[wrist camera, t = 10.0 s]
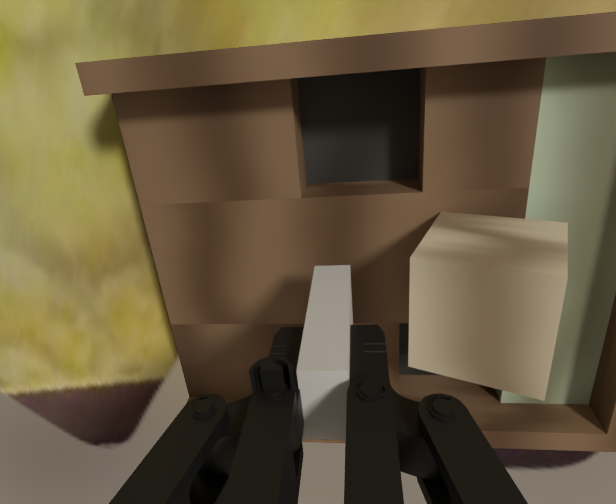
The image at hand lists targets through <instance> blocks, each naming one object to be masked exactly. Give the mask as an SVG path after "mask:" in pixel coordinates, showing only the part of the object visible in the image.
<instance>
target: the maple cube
mask: <svg viewBox="0 0 616 504" xmlns="http://www.w3.org/2000/svg"><path fill="white" fill-rule="evenodd" d="M567 280H568V223H566V222H555V221H544V220H532V219H521V218H509V217H498V216H486V215H475V214H463V213H452V212H441V213H440V214H439V216H438V217H437V218H436V220H435V221H434V223H433V224H432V226H431V227H430V229H429V230H428V232H427V233H426V235H425V236H424V238H423V239H422V241H421V242H420V244H419V245H418V246H417V248H416V249H415V251H414V252H413V254H412V255H411V257H410V284H409V346H408V367H412V368H416V369H420V370H424V371H428V372H432V373H436V374H440V375H444V376H448V377H452V378H456V379H460V380H464V381H468V382H471V383H475V384H479V385H483V386H487V387H491V388H495V389H499V390H503V391H507V392H511V393H515V394H519V395H523V396H527V397H531V398H535V399H539V400H543V401H545V397H546V391H547V386H548V381H549V375H550V370H551V365H552V360H553V354H554V349H555V344H556V338H557V333H558V328H559V322H560V317H561V312H562V307H563V301H564V296H565V291H566V285H567Z"/></svg>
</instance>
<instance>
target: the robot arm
mask: <svg viewBox="0 0 616 504" xmlns="http://www.w3.org/2000/svg"><path fill="white" fill-rule="evenodd" d="M249 375H250V381H251V386H252V394H251V395H250V396H248V397H246V398H243V399H240V400H237V401H233V402H229V403H226V401H225V400H224V399H223V398H222V397H221V396H219V395H216V394H205V395H201V396H198V397H196V398H194V399H192V400H190V401H189V402H188V403H187V404H186V405H185V406H184V408H183V409H182V410H181V411H180V413H179V414H178V415H177V417H176V418H175V419H174V420H173V422H172V423H171V424H170V426H169V427H168V428H167V430H166V431H165V432H164V433H163V435H162V436H161V437H160V439H159V440H158V441H157V442H156V444H155V445H154V446H153V448H152V449H151V450H150V452H149V453H148V454H147V455H146V457H145V458H144V459H143V460H142V462H141V463H140V464H139V466H138V467H137V468H136V470H135V471H134V472H133V473H132V475H131V476H130V477H129V479H128V480H127V481H126V482H125V484H124V485H123V486H122V488H121V489H120V490H119V491H118V493H117V494H116V496H115V497H114V498H113V499H112V500H111V502H110V503H109V504H297V503H298V495H299V486H300V477H301V470H302V462H303V447H302V438H303V430H304V438H305V439H327V440H346V447H345V490H344V504H404V501H403V492H402V482H401V472H404V473H407V474H410V475H413V476H416V477H417V480H418V483H419V485H420V488H421V490H422V493H423V495H424V497H425V500H426V502H427V504H527V502H526V500H525V499H524V497H523V495H522V494H521V492H520V491H519V489H518V488H517V486H516V484H515V483H514V481H513V480H512V478H511V477H510V475H509V473H508V472H507V470H506V469H505V467H504V466H503V464H502V463H501V461H500V459H499V458H498V456H497V455H496V453H495V452H494V450H493V448H492V447H491V445H490V444H489V442H488V441H487V439H486V437H485V436H484V434H483V433H482V431H481V430H480V428H479V427H478V425H477V423H476V422H475V420H474V419H473V417H472V416H471V414H470V412H469V411H468V409H467V408H466V406H465V405H464V404H463V403H462V402H461V401H460V400H458V399H457V398H455V397H453V396H451V395H447V394H443V393H440V394H431V395H428V396H425V397H424V398H423V399H422V400H421V401H420V402H418V401H414V400H410V399H408V398H405V397H403V396H401V395H399V394H398V393H397V392H396V391H395V390H394V389H393V388H392V386H391V384H390V380H389V370H388V361H387V352H386V342H385V333H384V332H383V330H382V329H381V328H380V327H379V325H378V324H374V325H353V311H352V290H351V270H350V265H332V266H315V267H314V273H313V278H312V284H311V290H310V296H309V301H308V307H307V313H306V319H305V324H304V327H281V329H280V330H279V331H278V332H277V333H276V334H275V335H274V338H273V342H272V347H271V349H270V354H269V357H265V358H263V359H260V360H258V361H257V362H255V363H254V364H253V365H252V366H251V368H250V369H249ZM400 471H401V472H400Z"/></svg>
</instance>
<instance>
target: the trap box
mask: <svg viewBox="0 0 616 504" xmlns="http://www.w3.org/2000/svg"><path fill="white" fill-rule="evenodd" d="M75 64H76V67H77V71H78V74H79V78H80V81H81V85H82V89H83V92H84V96H88V95H100V94H111V95H112V99H113V103H114V106H115V110H116V114H117V118H118V122H119V126H120V130H121V134H122V137H123V141H124V145H125V149H126V153H127V157H128V161H129V165H130V168H131V172H132V176H133V180H134V184H135V188H136V192H137V195H138V199H139V203H140V207H141V211H142V215H143V219H144V223H145V226H146V230H147V234H148V238H149V242H150V246H151V250H152V254H153V257H154V261H155V265H156V269H157V273H158V277H159V281H160V285H161V288H162V292H163V296H164V300H165V304H166V308H167V312H168V316H169V319H170V323H171V327H172V331H173V335H174V339H175V343H176V347H177V350H178V354H179V358H180V362H181V366H182V370H183V373H184V377H185V381H186V385H187V389H188V393H189V399H188V402H189V401H190V400H192V399H194V398H196V397H198V396H201V395H205V394H216V395H219V396H221V397H222V398H223V399H224V400H225V401H226V403H229V402H233V401H237V400H240V399H243V398H246V397H248V396H250V395H251V394H252V386H251V381H250V375H249V369H250V368H251V366H252V365H253V364H254V363H255V362H257V361H258V360H260V359H263V358H265V357H269V354H270V349H271V347H272V342H273V338H274V335H275V334H276V333H277V332H278V331H279V330H280V329H281V327H304V324H305V319H306V313H307V307H308V301H309V296H310V290H311V284H312V278H313V273H314V267H315V266H332V265H350V270H351V290H352V311H353V325H374V324H378V325H379V327H380V328H381V329H382V330H383V332H384V333H385V342H386V352H387V361H388V370H389V380H390V384H391V386H392V388H393V389H394V390H395V391H396V392H397V393H398V394H399V395H401V396H403V397H405V398H408V399H410V400H414V401H418V402H420V401H421V400H422V399H423V398H424V397H425V396H428V395H431V394H440V393H443V394H447V395H451V396H453V397H455V398H457V399H458V400H460V401H461V402H462V403H463V404H464V405H465V406H466V408H467V409H468V411H469V412H470V414H471V416H472V417H473V419H474V420H475V422H476V423H477V425H478V427H479V428H480V430H481V431H482V433H483V434H484V436H485V437H486V439H487V441H488V442H489V444H490V445H491V447H492V448H509V449H541V450H572V451H603V452H616V12H608V13H597V14H587V15H576V16H565V17H555V18H544V19H534V20H523V21H513V22H502V23H492V24H481V25H471V26H460V27H450V28H439V29H429V30H418V31H408V32H397V33H387V34H376V35H366V36H355V37H345V38H334V39H324V40H313V41H303V42H292V43H281V44H271V45H260V46H250V47H239V48H229V49H218V50H208V51H197V52H187V53H176V54H166V55H155V56H145V57H134V58H124V59H113V60H103V61H92V62H82V63H75ZM441 212H452V213H463V214H475V215H486V216H498V217H509V218H521V219H532V220H544V221H555V222H566V223H568V280H567V285H566V291H565V296H564V301H563V307H562V312H561V317H560V322H559V328H558V333H557V338H556V344H555V349H554V354H553V360H552V365H551V370H550V375H549V381H548V386H547V391H546V397H545V401H543V400H539V399H535V398H531V397H527V396H523V395H519V394H515V393H511V392H507V391H503V390H499V389H495V388H491V387H487V386H483V385H479V384H475V383H471V382H468V381H464V380H460V379H456V378H452V377H448V376H444V375H440V374H436V373H432V372H428V371H424V370H420V369H416V368H412V367H408V346H409V284H410V257H411V255H412V254H413V252H414V251H415V249H416V248H417V246H418V245H419V244H420V242H421V241H422V239H423V238H424V236H425V235H426V233H427V232H428V230H429V229H430V227H431V226H432V224H433V223H434V221H435V220H436V218H437V217H438V216H439V214H440V213H441ZM188 402H187V403H188ZM302 442H323V443H346V440H327V439H305V438H304V430H303V438H302Z"/></svg>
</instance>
